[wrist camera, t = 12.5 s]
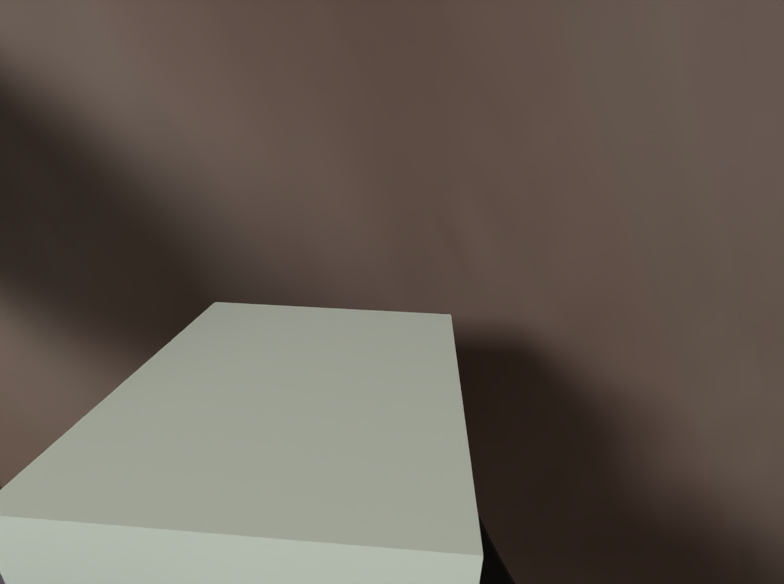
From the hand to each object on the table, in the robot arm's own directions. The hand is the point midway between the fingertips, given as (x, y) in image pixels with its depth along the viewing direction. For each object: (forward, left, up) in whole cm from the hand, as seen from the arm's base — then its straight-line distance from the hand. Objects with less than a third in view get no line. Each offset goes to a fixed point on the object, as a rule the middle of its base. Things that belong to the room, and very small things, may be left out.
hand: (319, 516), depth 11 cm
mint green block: (0, 0, -2) cm, 2 cm away
